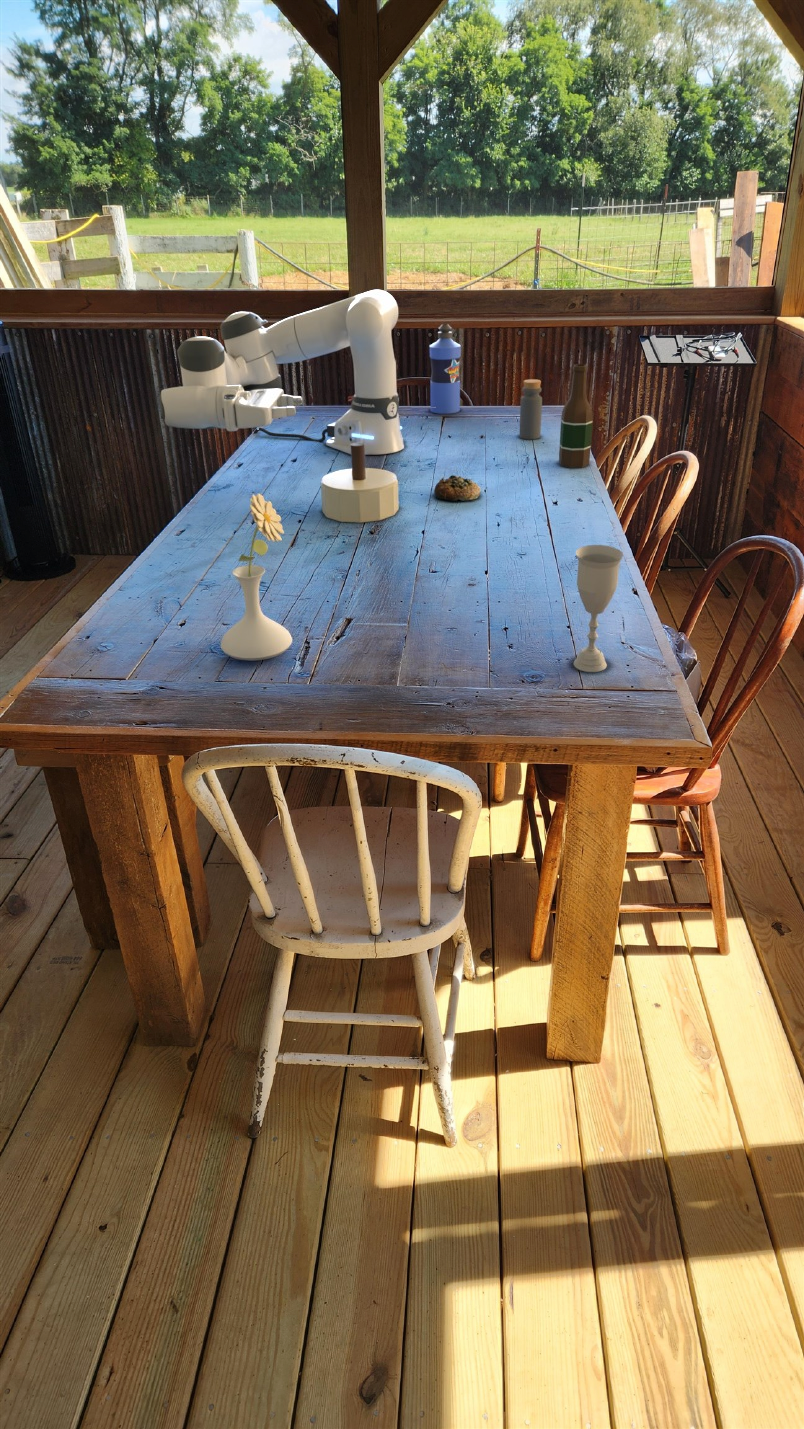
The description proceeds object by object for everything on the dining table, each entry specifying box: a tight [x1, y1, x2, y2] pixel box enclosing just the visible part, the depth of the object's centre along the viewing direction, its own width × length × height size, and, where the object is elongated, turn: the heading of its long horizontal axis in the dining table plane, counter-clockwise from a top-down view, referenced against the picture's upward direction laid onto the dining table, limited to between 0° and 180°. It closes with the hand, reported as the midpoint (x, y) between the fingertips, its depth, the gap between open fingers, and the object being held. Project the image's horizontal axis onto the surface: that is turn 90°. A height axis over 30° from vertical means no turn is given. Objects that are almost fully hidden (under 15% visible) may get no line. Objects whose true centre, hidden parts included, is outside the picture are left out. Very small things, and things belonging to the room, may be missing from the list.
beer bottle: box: [558, 363, 594, 469], centre depth 237 cm, size 8×8×24 cm
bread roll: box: [434, 474, 482, 502], centre depth 222 cm, size 11×11×5 cm
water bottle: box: [429, 323, 462, 415], centre depth 291 cm, size 9×9×25 cm
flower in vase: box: [220, 493, 293, 662], centre depth 149 cm, size 13×11×25 cm
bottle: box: [518, 378, 543, 440], centre depth 263 cm, size 6×6×15 cm
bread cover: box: [320, 443, 400, 524], centre depth 211 cm, size 17×17×15 cm
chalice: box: [573, 544, 625, 673], centre depth 143 cm, size 7×7×18 cm
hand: (298, 405), depth 204 cm, fingers open, 8 cm apart
